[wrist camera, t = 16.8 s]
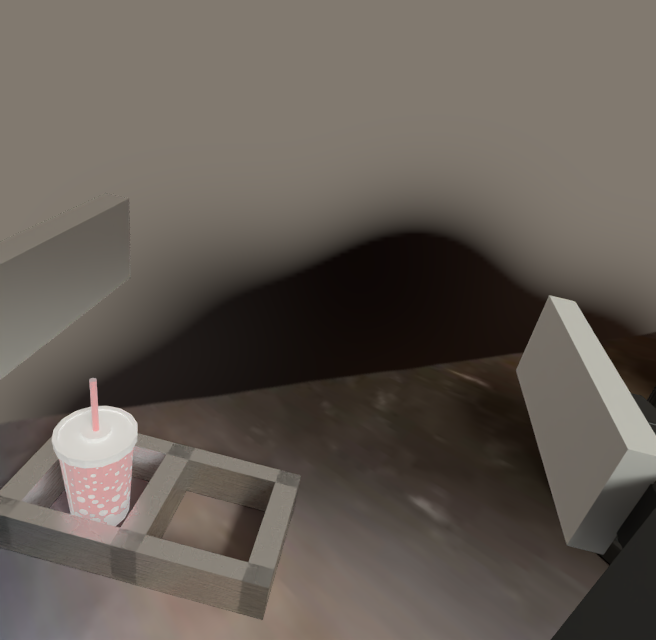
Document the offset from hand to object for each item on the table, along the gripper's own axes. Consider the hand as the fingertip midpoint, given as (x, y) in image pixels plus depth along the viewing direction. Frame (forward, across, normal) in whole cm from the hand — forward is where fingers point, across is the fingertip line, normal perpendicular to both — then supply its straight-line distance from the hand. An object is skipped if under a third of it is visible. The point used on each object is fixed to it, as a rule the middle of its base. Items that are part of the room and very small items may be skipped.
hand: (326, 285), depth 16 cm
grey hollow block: (+13, -12, -32) cm, 36 cm away
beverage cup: (+13, -16, -32) cm, 38 cm away
